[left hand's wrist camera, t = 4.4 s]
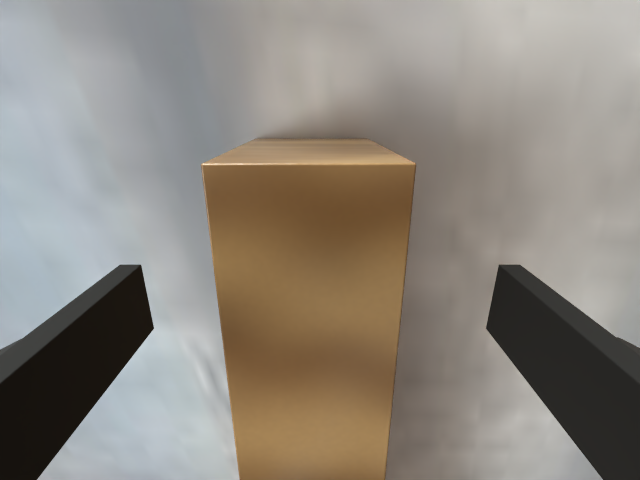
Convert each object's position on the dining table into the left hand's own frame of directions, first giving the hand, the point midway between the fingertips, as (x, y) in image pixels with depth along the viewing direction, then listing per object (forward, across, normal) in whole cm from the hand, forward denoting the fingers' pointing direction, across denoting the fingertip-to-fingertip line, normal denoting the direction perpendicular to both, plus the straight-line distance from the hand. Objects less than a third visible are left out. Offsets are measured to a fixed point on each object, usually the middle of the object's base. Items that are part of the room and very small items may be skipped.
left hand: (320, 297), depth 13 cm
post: (+7, 0, -32) cm, 33 cm away
